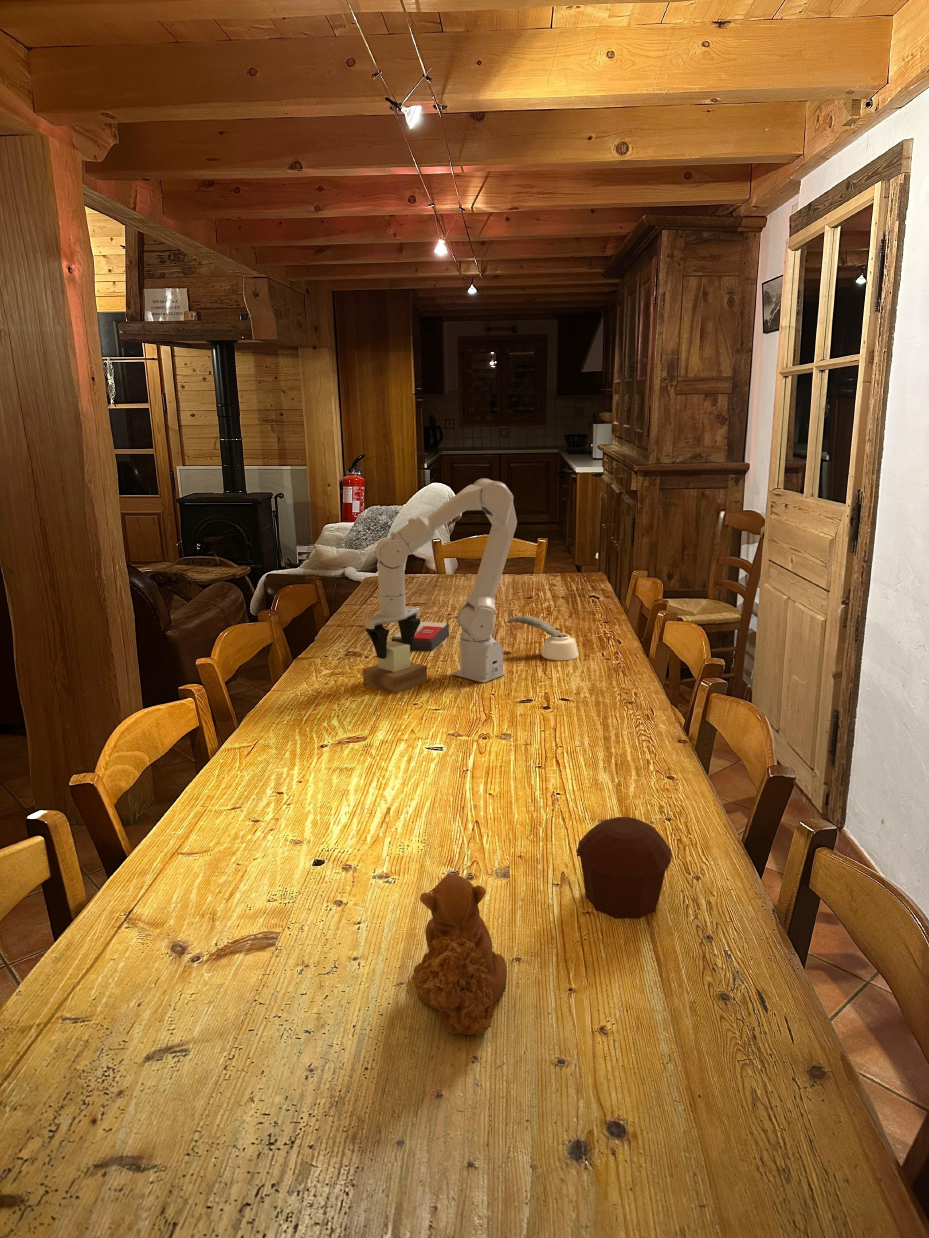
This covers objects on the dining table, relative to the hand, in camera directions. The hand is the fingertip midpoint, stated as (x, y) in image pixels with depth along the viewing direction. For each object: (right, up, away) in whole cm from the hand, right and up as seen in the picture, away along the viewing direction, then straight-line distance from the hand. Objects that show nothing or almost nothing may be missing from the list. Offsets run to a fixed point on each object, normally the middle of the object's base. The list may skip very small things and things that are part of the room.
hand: (394, 654), depth 185 cm
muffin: (+35, -27, -81) cm, 92 cm away
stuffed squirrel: (+15, -32, -99) cm, 105 cm away
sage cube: (0, -3, +1) cm, 3 cm away
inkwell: (+34, -1, +21) cm, 40 cm away
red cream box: (+4, +1, +34) cm, 35 cm away
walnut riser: (0, -7, +2) cm, 7 cm away
